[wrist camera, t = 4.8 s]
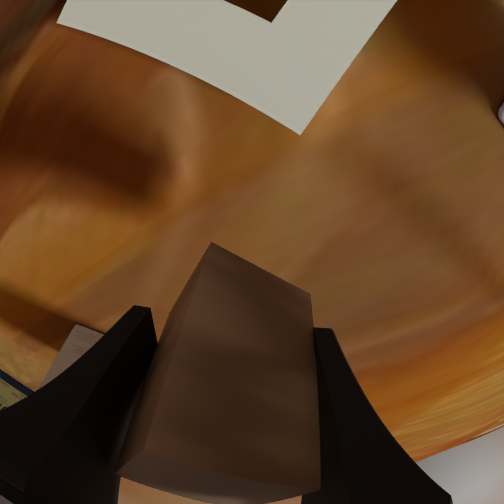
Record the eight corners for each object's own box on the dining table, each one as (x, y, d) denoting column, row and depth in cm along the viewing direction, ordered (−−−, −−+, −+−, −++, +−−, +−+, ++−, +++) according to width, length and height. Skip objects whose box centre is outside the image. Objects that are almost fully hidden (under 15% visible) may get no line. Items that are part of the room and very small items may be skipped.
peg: (310, 294, 11) (320, 490, 5) (254, 351, 13) (236, 508, 7) (211, 241, 10) (144, 448, 4) (169, 313, 12) (113, 473, 6)
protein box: (46, 398, 37) (12, 475, 24) (52, 424, 45) (28, 485, 32) (-4, 365, 35) (-42, 436, 22) (10, 398, 43) (-17, 456, 30)
